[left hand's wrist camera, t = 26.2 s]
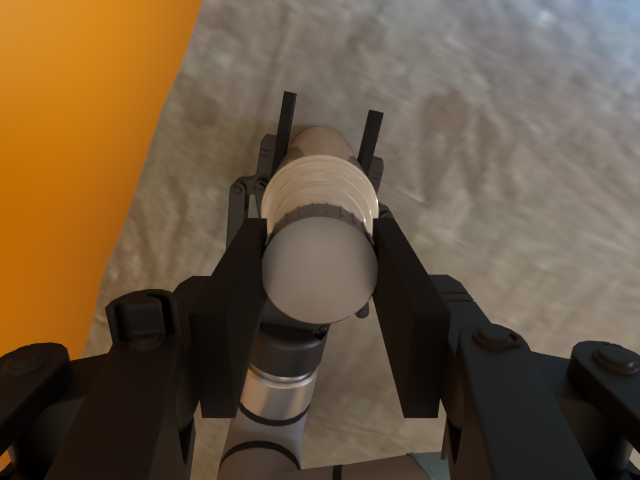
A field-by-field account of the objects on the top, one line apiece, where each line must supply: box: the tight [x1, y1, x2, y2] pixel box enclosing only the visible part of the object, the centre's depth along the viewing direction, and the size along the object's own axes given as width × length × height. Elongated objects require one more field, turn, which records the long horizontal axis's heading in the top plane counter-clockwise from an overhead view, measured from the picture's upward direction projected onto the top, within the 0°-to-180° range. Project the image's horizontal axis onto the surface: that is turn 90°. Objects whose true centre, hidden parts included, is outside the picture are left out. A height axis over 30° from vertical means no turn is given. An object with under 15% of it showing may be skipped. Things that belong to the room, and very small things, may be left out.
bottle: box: [261, 126, 379, 236], centre depth 25 cm, size 6×6×25 cm
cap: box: [261, 203, 378, 324], centre depth 13 cm, size 4×4×2 cm
